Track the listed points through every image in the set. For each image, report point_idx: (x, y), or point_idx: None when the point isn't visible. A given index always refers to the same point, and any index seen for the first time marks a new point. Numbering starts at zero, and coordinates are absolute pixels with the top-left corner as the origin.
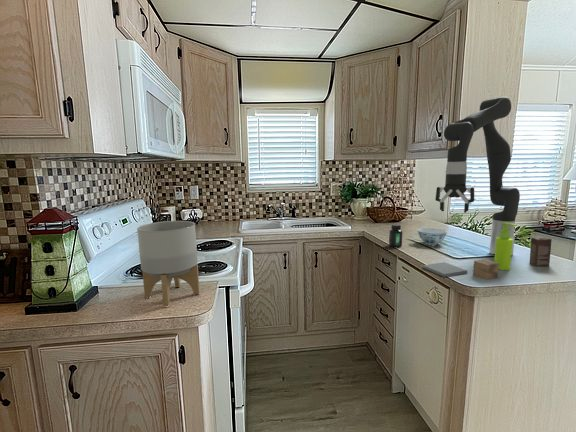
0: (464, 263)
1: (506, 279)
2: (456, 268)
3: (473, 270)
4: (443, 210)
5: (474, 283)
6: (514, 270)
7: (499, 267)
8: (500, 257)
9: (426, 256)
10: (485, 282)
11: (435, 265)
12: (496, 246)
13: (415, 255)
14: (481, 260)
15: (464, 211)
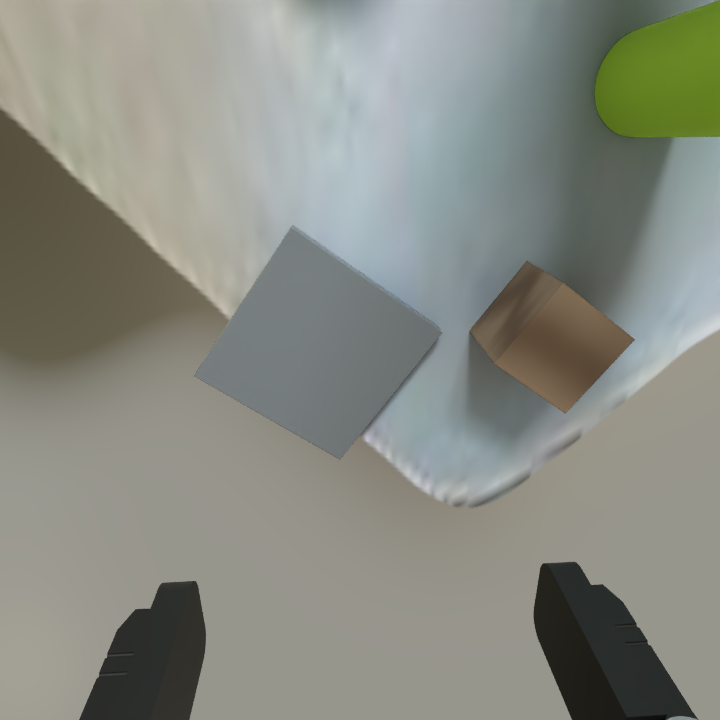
0: (408, 106)
1: (628, 319)
2: (382, 329)
3: (476, 339)
4: (199, 624)
5: (478, 460)
6: None
7: (629, 135)
8: (674, 135)
9: (108, 56)
10: (525, 421)
11: (259, 339)
12: (701, 99)
13: (21, 77)
14: (538, 334)
15: (544, 640)
